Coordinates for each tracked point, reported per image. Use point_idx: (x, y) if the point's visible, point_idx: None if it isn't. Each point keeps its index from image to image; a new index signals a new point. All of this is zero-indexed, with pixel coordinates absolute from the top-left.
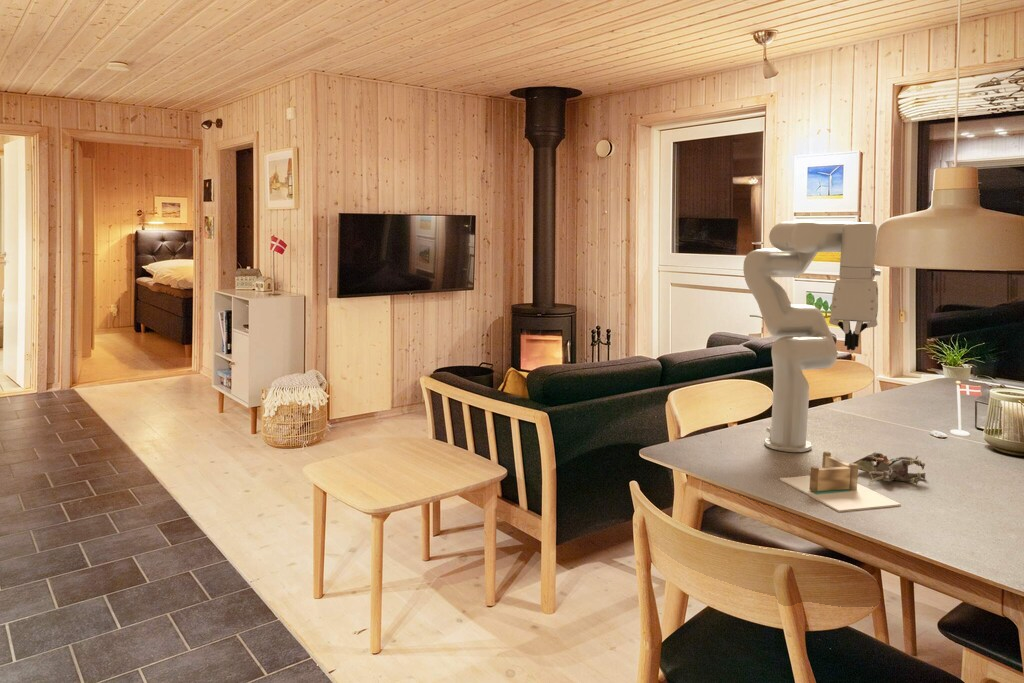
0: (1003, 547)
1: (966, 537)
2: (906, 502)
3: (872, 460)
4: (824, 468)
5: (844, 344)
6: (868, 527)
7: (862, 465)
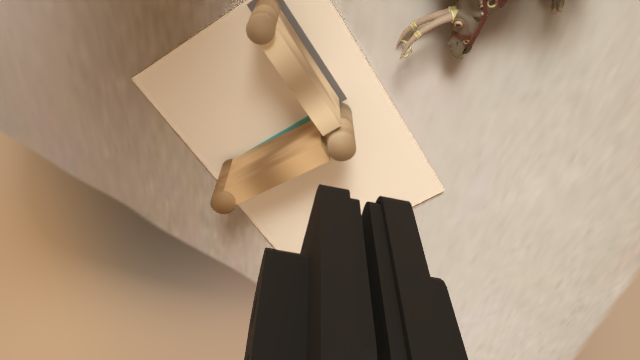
0: (569, 336)
1: (521, 314)
2: (467, 158)
3: None
4: (251, 184)
5: (250, 322)
6: None
7: None
